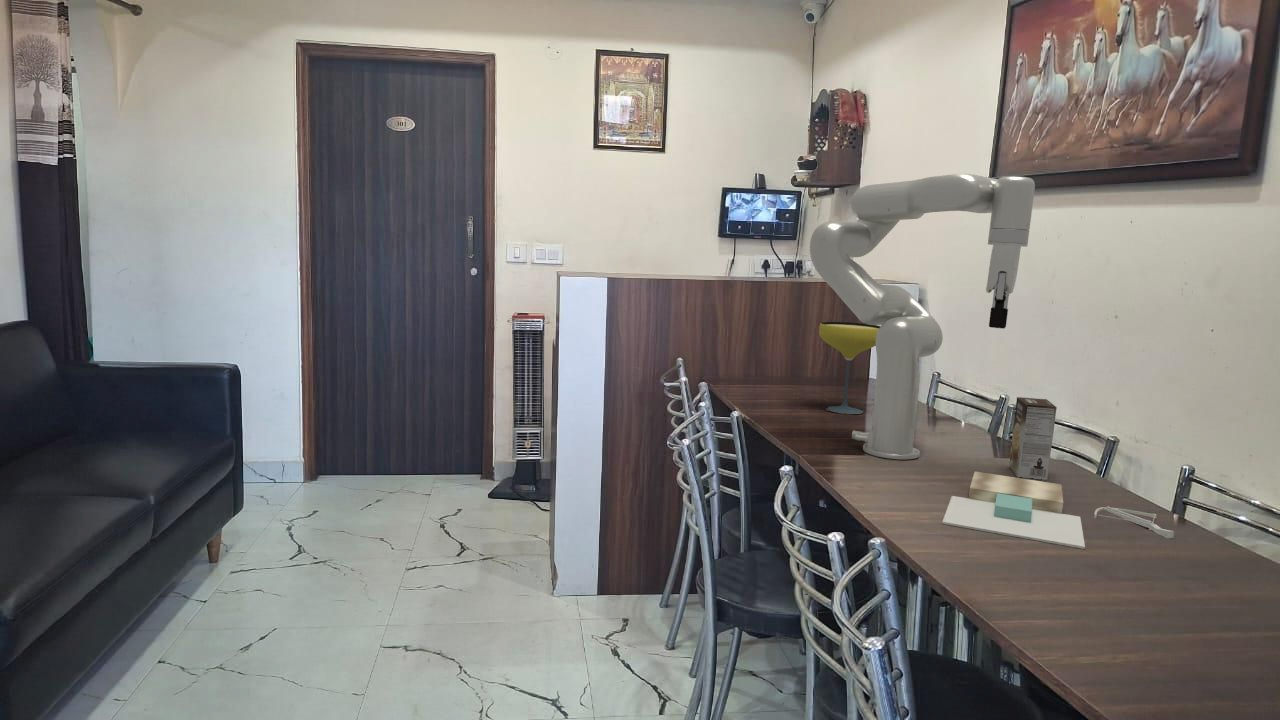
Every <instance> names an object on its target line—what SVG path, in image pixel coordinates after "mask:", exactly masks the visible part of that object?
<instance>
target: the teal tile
mask: <svg viewBox="0 0 1280 720" xmlns="http://www.w3.org/2000/svg"><path fill="white" fill-rule="evenodd" d="M1031 515H1032V499H1031V498H1025V497H1019V496H1012V495H1006V494H1000V493H997V497H996V503H995V510H994V517H1000V518H1006V519H1012V520H1018V521H1024V522H1030V523H1031Z"/></svg>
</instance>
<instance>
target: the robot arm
mask: <svg viewBox="0 0 1280 720" xmlns="http://www.w3.org/2000/svg"><path fill="white" fill-rule="evenodd" d="M1035 189H1036V184H1035V181H1034V179H1033V178H1031V177H1027V176H1017V175H1016V176H1014V175H1013V176H1002V177H999V178H992V177H988V176H982V175H977V174H972V173H971V174H970V173H952V174H945V175H944V174H943V175H936V176H935V175H934V176H929V177H923V178H919V179H914V180H913V179H912V180H906V181H905V180H903V181H896V182H885V183H876V184H869V185H864V186H861V187H860V188H858V189H857V190H855V192H854V193H853V195H852V197H851V199H850V200H851V201H850V208H851V211H852V213H853V215H854V216H855V217H857V220H856V221H854V222H853V221H842V220H830V221H826V222H824V223H821V224H819V225H818V226H817V227H816V228H815V229H814V230H813V232H812V235H811V236H810V237H811V238H810V242H809V255H810V259H811V262H812V263H811V264H812V265H813V267H814V269H815V270H816V272H817V273H818V275H819V276H820V278H822V280H823V281H824V282H826V283H827V285H828V286H829V287H830V288H831V289H832V290H833V292H835V293H836V294H837V296H838V297H839V298H840V299H841V301H842V302H844V304H845V305H846V306H847V308H848V309H850V311H851V312H852V313H853V314H854V315H855V316H856V318H857V319H858V320H859V321H861V322H862V324H868V325H877V326H880V328H879V330H878V332H877V335H876V346H875V353H876V375H875V376H876V379H875V391H874V401H873V412H872V424H871V429H870V430H869V431H866V432H865V431H860V430H852V433H851V438H852V439H853V440H855V441H858V442H859V441H860V442H861V441H862V442H865V443H864V444H863V446H862V450H863V451H864V452H865V453H867V454H869V455H871V456H875V457H878V458H879V457H880V458H884V459H888V460H889V459H891V460H914V459H917V458H919V457H920V454H921V452H920V450H919V449H918V448H917V447H916V448H915V446H914V440H915V431H916V430H915V429H916V420H917V410H918V403H919V402H918V400H919V391H920V380H921V379H920V376H921V375H920V368H919V363H918V358H924V357H928V356H931V355H933V354H935V353H936V352H938V351H939V349H940V348H941V346H942V344H943V330H942V329H941V326H940V324H939V322H937V320H936V319H935V318H934V317H933V315H931V313H930V312H928V311H927V309H926V308H924V306H923V305H922V304H921V303H920V302H919V301H918V300H917V299H916V298H915V297H914V296H913V295H912V294H911V293H910V291H907V290H906V289H905V288H903V287H901V286H899V285H896V284H895V285H894V284H882V283H879V282H877V281H876V280H875V279H874V278H873V277H872V276H871V275H870V274H869V273H868V272H867V271H866V270H865V269H864V268H863V267H862V265H860V264H859V263H857V262H856V261H854V260H853V259H852V258H861V257H864V256H866V255H868V254H869V253H871V252H872V251H873V250H875V248H876V247H877V246H878V245H879V244H880V242H882V241H883V240H884V238H885V237H886V236H887V235H889V233H890V232H891V231H892V230H893V229H894V228H895V226H896V225H897V224H898V223H899V222H900V221H905V220H918V219H920V218H922V217H923V216H924V215H925V214H929V213H939V212H957V211H958V212H959V211H960V212H968V213H969V212H970V213H976V214H990V223H989V232H988V238H987V241H988V242H987V245H989V246H990V245H991V246H992V249H991V254H990V260H989V267H988V275H987V282H986V288H985V291H986V293H988V294H990V293H992V291H993V297H992V306H991V307H990V315H989V320H988V321H989V322H988V327H989V328H994V329H1006V327H1007V323H1008V322H1007V321H1008V313H1009V309H1008V303H1009V296H1010V294H1013V292H1014V289H1015V286H1016V281H1017V275H1018V270H1019V264H1020V263H1019V262H1020V256H1021V248H1022V247H1025V248H1027V247H1028V243H1029V235H1030V228H1031V222H1032V221H1031V220H1032V213H1033V204H1034V197H1035Z"/></svg>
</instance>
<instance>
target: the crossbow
mask: <svg viewBox="0 0 1280 720" xmlns="http://www.w3.org/2000/svg"><path fill="white" fill-rule="evenodd" d="M1100 511H1106V512H1109V513H1110V514H1112V515H1115V516H1117V517H1116V519H1118V520H1121V519H1122V520H1125V521H1128V522H1131V523H1134V524H1135V525H1136V524H1137V525H1140V526H1142V527H1144V528H1147V529H1148V530H1149V531H1152V532H1154V534H1157V535H1160V536H1161V537H1164V538H1165V539H1174V533H1175V531H1174V530H1169V529H1164V528H1162V527H1160V526H1159V525H1157V524H1155V522H1154V521H1155V519H1157V514H1156V513H1149V512H1144V511H1138V510H1133V509H1124V508H1118V507H1110V506H1109V505H1106V507H1103V506H1102V507H1098V508H1096V509H1095V510H1094V513H1093V519H1094V520H1095V519H1097V517H1098V516H1099V517H1102V515H1101V514H1098V513H1099V512H1100ZM1134 514H1135V515H1134ZM1136 515H1139V516H1144V517H1149V518H1152V519H1153V520H1152V521H1151V520H1150V519H1148V520H1147V519H1145V518H1143V517H1139V516H1136ZM1104 517H1105V518H1108V516H1106V515H1104ZM1118 517H1120V518H1118ZM1110 518H1112V519H1115V517H1112V516H1110Z"/></svg>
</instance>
